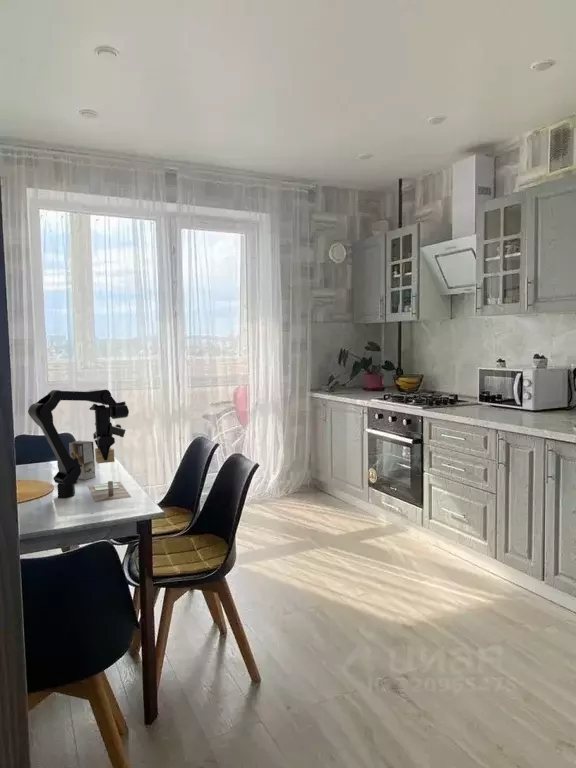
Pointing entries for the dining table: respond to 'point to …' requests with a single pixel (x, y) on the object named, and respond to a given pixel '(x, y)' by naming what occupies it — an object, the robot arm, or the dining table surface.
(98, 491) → the board
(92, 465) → the coffee box
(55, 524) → the dining table surface
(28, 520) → the dining table surface
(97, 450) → the collar
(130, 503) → the dining table surface
